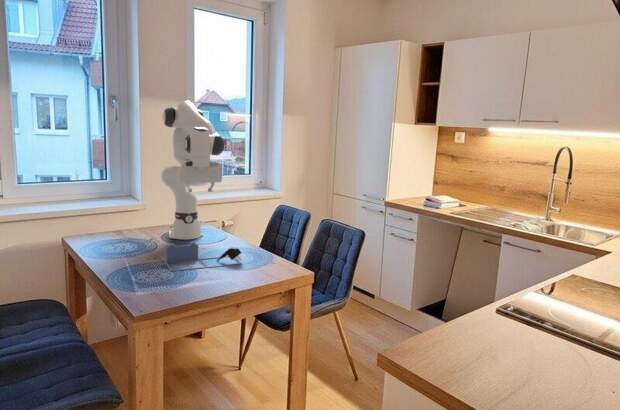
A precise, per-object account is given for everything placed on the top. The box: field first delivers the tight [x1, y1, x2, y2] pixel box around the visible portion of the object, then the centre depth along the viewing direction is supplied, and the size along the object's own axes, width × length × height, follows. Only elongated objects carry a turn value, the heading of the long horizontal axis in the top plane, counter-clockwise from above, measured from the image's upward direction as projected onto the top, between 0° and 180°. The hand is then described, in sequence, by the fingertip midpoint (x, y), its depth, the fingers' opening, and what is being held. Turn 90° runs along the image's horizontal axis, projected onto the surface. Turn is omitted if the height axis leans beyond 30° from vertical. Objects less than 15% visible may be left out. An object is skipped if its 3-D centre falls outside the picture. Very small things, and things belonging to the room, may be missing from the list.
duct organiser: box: [164, 241, 243, 272], centre depth 202 cm, size 15×32×8 cm, turn 118°
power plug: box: [216, 246, 243, 263], centre depth 204 cm, size 6×8×12 cm
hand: (200, 192), depth 208 cm, fingers open, 8 cm apart
